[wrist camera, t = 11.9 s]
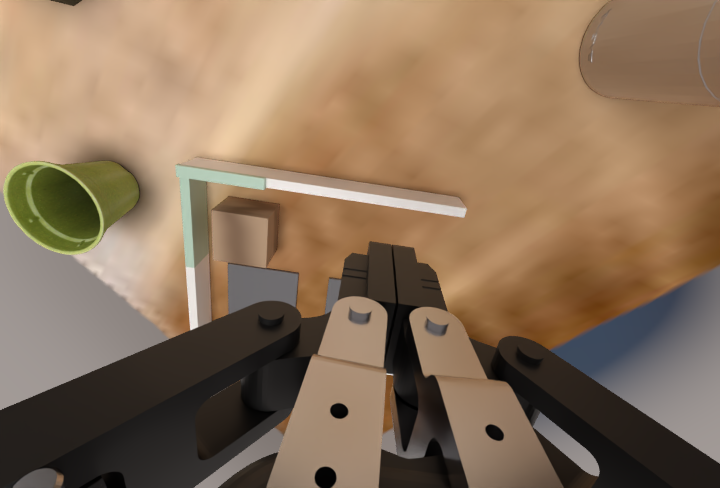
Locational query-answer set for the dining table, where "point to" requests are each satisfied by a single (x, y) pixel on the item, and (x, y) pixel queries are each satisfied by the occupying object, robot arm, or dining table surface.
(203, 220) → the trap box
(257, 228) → the walnut block
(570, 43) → the dining table surface
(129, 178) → the plant pot
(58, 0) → the wine bottle
